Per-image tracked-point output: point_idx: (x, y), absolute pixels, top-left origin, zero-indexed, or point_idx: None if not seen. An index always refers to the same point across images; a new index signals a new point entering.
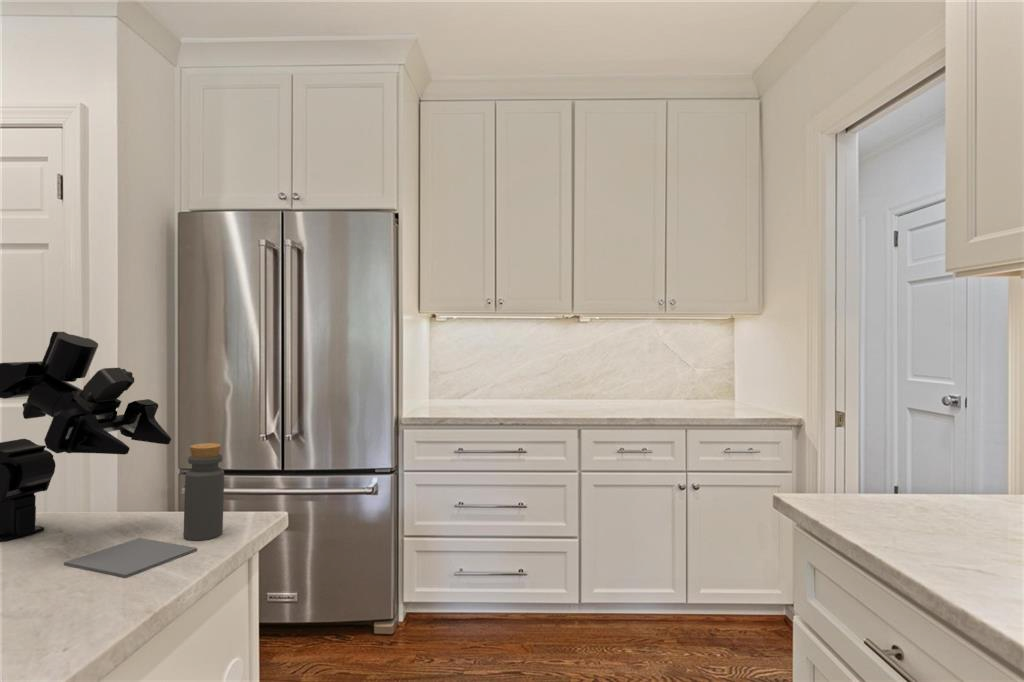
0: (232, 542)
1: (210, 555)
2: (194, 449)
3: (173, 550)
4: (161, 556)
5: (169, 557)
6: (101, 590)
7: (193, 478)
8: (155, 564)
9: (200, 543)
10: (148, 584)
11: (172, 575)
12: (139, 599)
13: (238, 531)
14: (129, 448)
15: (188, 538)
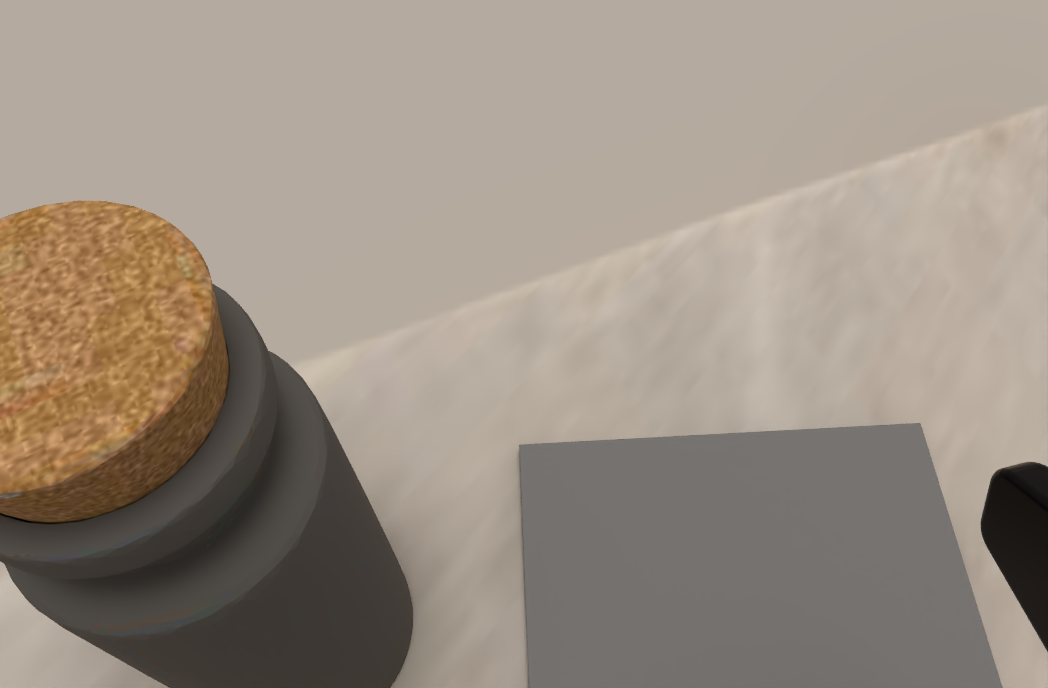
0: (354, 404)
1: (539, 354)
2: (213, 333)
3: (603, 510)
4: (690, 488)
5: (678, 446)
6: (1041, 395)
7: (331, 442)
8: (764, 433)
9: (427, 525)
10: (888, 304)
11: (779, 304)
12: (976, 225)
13: None
14: (997, 472)
15: (411, 623)
